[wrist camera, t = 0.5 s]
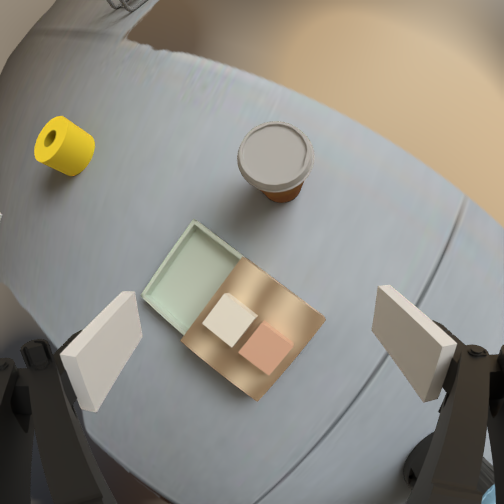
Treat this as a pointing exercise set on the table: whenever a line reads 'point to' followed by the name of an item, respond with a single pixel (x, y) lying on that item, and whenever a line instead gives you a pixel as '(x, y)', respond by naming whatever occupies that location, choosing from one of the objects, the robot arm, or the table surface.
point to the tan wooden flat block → (254, 327)
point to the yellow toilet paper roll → (64, 146)
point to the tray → (190, 276)
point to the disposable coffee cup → (276, 160)
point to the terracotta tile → (266, 348)
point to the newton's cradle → (125, 5)
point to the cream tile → (229, 319)
